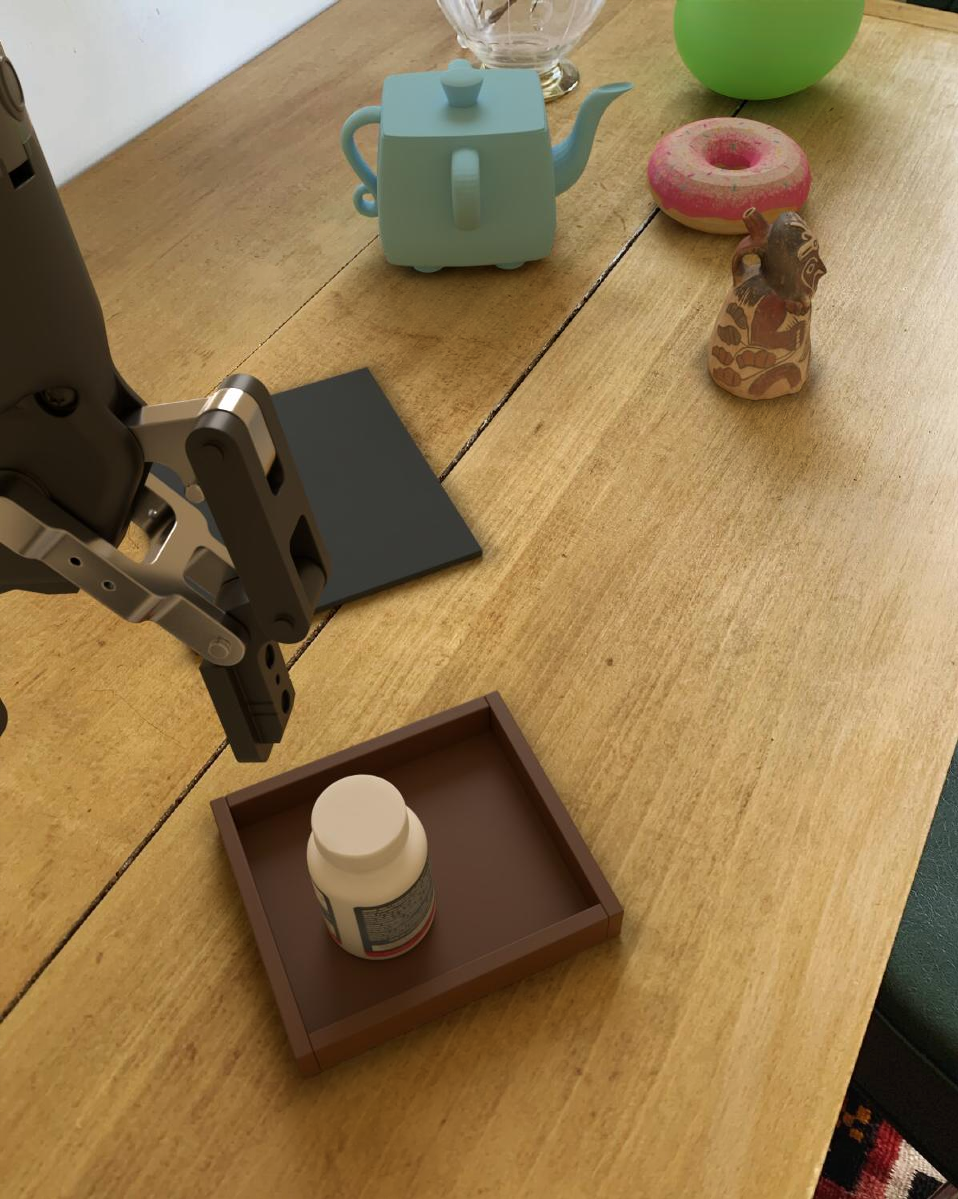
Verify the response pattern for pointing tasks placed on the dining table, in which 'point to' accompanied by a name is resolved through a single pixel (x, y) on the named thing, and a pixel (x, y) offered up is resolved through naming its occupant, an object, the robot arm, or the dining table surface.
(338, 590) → the mat
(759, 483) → the dining table surface
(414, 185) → the teapot
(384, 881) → the pill bottle
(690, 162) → the donut
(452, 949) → the tray
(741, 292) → the figurine
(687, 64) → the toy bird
